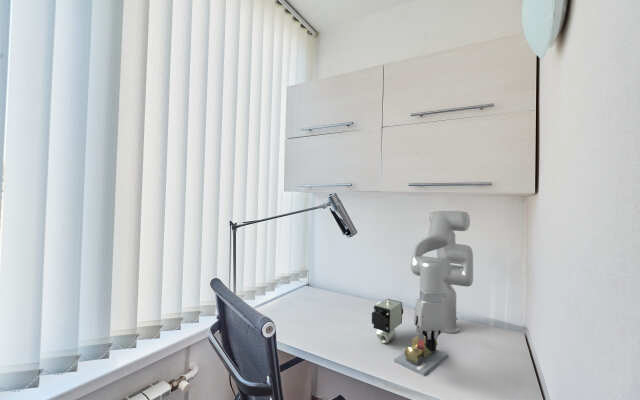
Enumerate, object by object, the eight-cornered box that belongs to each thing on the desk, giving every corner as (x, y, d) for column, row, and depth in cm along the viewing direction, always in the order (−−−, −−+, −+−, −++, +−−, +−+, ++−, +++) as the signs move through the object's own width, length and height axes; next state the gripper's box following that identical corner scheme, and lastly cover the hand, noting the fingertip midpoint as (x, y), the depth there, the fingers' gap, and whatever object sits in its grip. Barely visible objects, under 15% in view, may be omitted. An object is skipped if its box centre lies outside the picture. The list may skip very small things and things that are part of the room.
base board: (419, 345, 119) (419, 342, 119) (447, 356, 110) (447, 353, 110) (394, 361, 106) (394, 358, 106) (424, 375, 97) (424, 372, 97)
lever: (418, 330, 110) (418, 326, 110) (425, 331, 109) (425, 327, 109) (416, 349, 95) (416, 344, 95) (425, 350, 94) (425, 346, 94)
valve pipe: (425, 346, 116) (425, 325, 116) (437, 351, 112) (437, 329, 112) (404, 361, 104) (404, 336, 105) (417, 367, 100) (417, 342, 101)
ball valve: (386, 330, 133) (387, 293, 133) (403, 336, 127) (404, 297, 128) (368, 344, 119) (368, 302, 120) (386, 350, 114) (387, 307, 114)
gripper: (444, 293, 102) (444, 343, 101) (406, 293, 100) (405, 345, 99) (457, 299, 94) (456, 354, 94) (416, 300, 92) (415, 356, 92)
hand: (430, 349), depth 97 cm, fingers closed
